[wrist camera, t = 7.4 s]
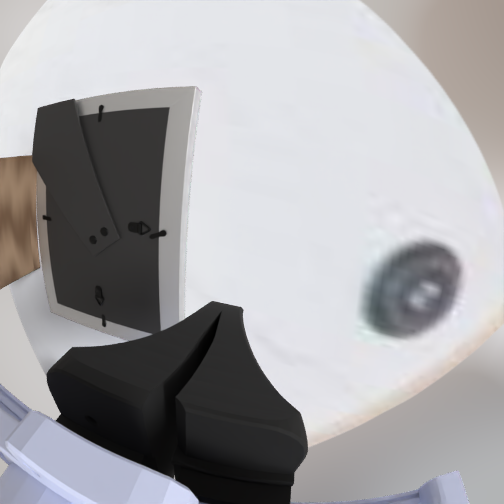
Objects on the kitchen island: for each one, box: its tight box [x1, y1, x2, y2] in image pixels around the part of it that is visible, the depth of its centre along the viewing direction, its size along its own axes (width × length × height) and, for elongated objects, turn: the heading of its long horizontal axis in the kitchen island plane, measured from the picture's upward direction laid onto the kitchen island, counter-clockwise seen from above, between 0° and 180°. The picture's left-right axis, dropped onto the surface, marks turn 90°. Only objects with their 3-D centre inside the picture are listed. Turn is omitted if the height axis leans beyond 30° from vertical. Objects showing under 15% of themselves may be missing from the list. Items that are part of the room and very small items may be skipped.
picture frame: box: [32, 86, 202, 341], centre depth 19 cm, size 16×3×21 cm
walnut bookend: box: [0, 155, 40, 289], centre depth 18 cm, size 12×3×7 cm, turn 171°
